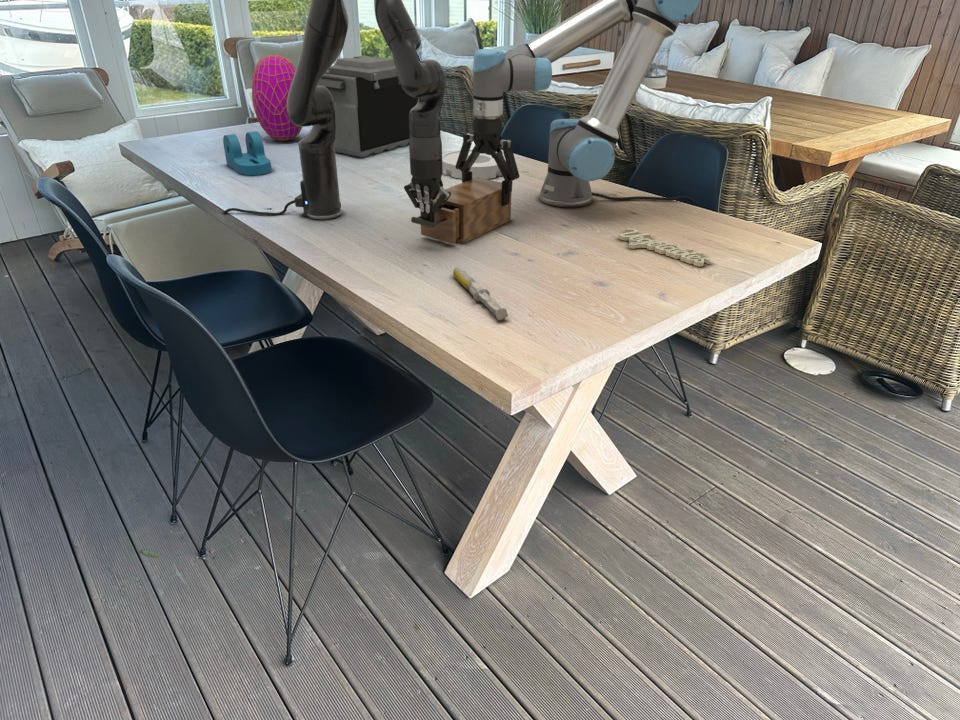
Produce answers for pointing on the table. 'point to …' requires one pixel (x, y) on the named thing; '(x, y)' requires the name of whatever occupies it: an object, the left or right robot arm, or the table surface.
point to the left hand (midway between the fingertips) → (428, 226)
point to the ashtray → (481, 167)
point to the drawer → (442, 224)
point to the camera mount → (246, 154)
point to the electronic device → (368, 105)
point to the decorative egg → (274, 96)
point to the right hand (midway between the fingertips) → (486, 200)
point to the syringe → (479, 293)
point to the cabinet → (479, 207)
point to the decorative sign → (663, 247)
